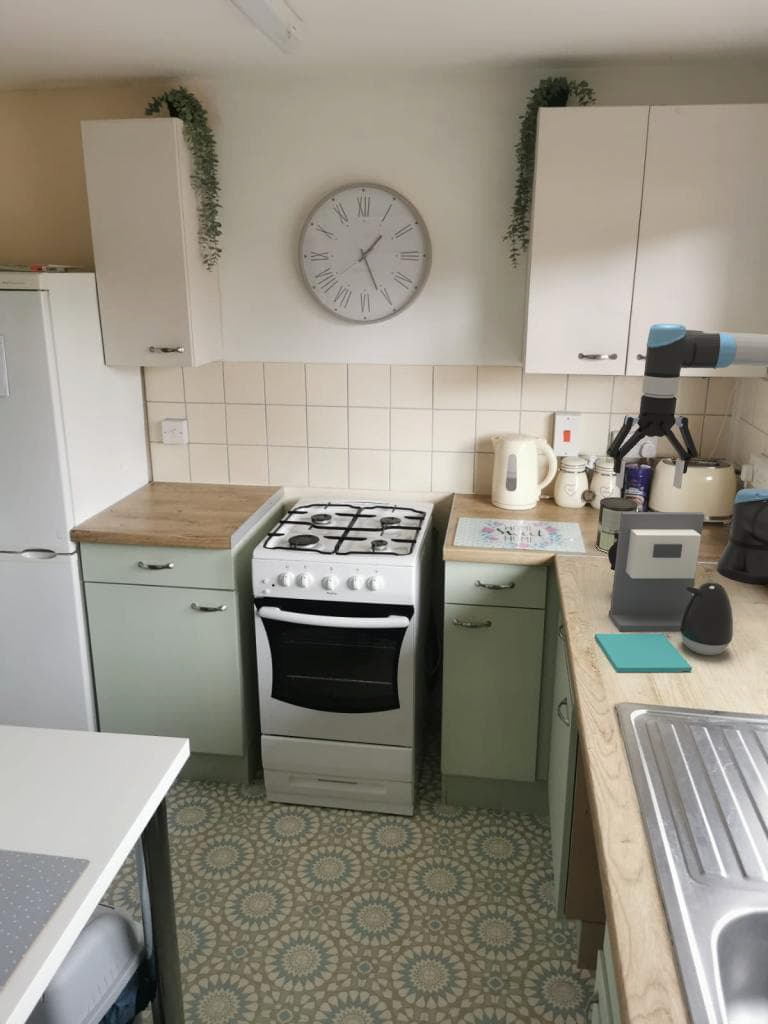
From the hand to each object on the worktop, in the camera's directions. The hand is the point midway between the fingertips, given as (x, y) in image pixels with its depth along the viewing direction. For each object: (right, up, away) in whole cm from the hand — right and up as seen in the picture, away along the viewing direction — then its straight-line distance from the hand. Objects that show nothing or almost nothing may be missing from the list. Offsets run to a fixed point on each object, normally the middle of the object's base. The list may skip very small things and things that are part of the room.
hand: (647, 487), depth 176 cm
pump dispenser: (+6, -35, -15) cm, 39 cm away
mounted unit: (0, -31, -3) cm, 31 cm away
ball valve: (+2, -26, +14) cm, 29 cm away
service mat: (-8, -35, -17) cm, 40 cm away
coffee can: (+5, -17, +44) cm, 47 cm away
